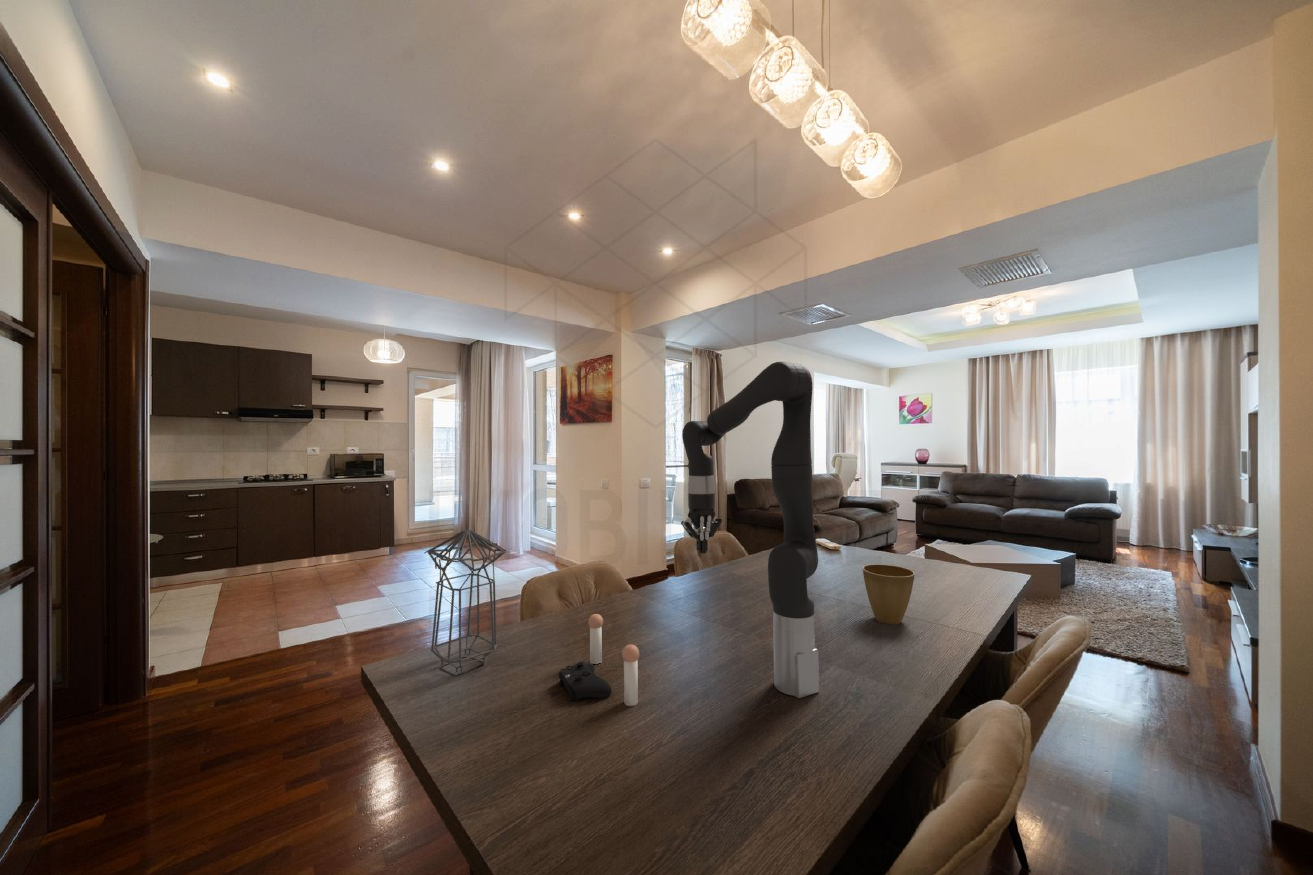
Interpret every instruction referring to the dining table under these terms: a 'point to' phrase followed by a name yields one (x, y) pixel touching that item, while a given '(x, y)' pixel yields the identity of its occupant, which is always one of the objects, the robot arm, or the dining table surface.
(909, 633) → the dining table surface
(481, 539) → the geometric lantern
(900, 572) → the plant pot
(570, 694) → the gaming controller
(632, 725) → the dining table surface
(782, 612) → the robot arm
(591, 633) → the posts
